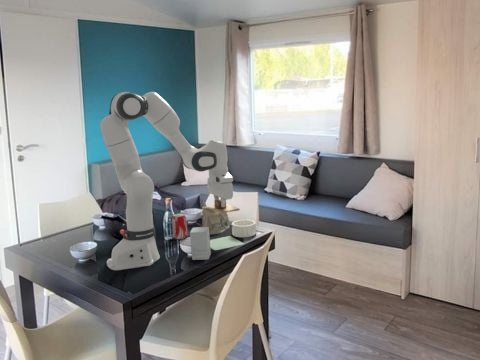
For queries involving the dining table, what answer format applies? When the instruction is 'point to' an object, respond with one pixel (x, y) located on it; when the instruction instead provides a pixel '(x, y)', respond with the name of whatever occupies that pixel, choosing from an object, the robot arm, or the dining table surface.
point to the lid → (220, 208)
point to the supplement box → (200, 243)
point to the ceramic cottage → (215, 222)
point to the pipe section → (243, 228)
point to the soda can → (179, 226)
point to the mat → (224, 243)
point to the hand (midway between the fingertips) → (220, 205)
